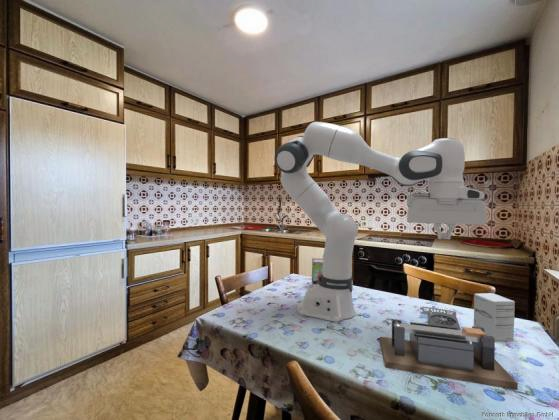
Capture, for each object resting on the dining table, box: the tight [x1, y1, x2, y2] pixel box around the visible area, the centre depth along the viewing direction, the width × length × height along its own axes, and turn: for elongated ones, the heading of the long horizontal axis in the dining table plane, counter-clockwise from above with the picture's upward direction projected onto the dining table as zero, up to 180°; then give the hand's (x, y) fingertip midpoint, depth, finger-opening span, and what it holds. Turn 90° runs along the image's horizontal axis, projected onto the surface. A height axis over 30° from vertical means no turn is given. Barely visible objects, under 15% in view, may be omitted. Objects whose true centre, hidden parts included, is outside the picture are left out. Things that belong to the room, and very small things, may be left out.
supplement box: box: [473, 292, 516, 342], centre depth 81 cm, size 7×7×13 cm
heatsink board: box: [379, 318, 519, 391], centre depth 67 cm, size 28×13×10 cm, turn 74°
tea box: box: [311, 257, 323, 288], centre depth 126 cm, size 15×10×15 cm
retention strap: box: [394, 322, 487, 343], centre depth 67 cm, size 22×3×2 cm, turn 74°
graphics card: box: [419, 305, 462, 330], centre depth 88 cm, size 17×4×12 cm
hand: (443, 238), depth 75 cm, fingers closed
